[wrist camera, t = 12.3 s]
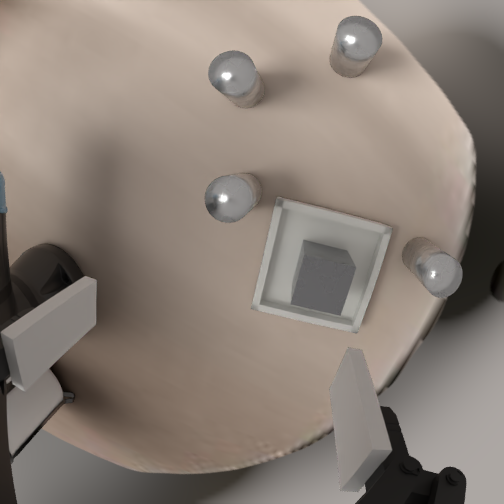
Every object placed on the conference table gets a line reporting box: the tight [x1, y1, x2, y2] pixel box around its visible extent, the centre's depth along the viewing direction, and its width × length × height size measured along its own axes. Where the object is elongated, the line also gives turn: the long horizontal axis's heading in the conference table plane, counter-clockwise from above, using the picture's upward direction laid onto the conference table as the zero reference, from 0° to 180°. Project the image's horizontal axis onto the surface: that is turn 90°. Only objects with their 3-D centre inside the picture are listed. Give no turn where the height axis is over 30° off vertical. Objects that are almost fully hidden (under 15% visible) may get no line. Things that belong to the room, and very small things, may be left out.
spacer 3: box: [330, 16, 382, 78], centre depth 25 cm, size 4×4×8 cm
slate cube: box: [291, 240, 356, 316], centre depth 32 cm, size 5×5×6 cm
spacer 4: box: [402, 238, 462, 298], centre depth 30 cm, size 4×4×8 cm
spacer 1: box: [208, 51, 265, 108], centre depth 28 cm, size 4×4×8 cm
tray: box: [251, 196, 393, 333], centre depth 35 cm, size 13×13×2 cm
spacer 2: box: [205, 173, 262, 223], centre depth 31 cm, size 4×4×8 cm
